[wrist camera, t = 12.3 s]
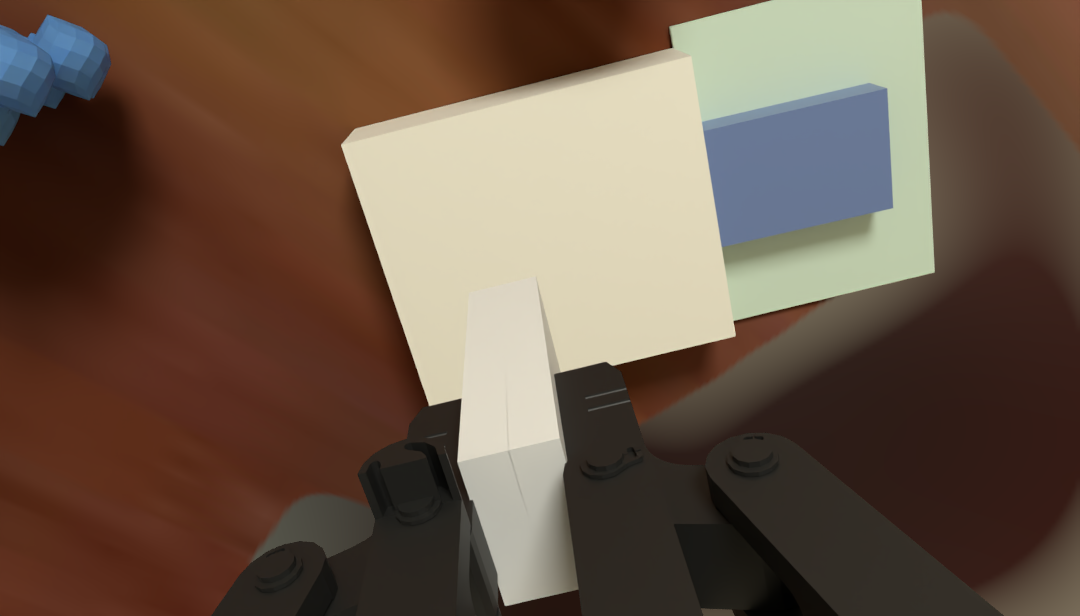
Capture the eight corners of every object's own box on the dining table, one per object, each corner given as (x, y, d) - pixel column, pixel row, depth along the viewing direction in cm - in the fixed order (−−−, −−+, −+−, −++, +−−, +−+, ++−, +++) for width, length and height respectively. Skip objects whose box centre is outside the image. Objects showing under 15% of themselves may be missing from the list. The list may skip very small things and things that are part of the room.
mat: (718, 322, 45) (719, 324, 45) (669, 26, 39) (670, 27, 39) (931, 270, 45) (934, 272, 44) (916, -37, 38) (919, -37, 38)
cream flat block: (435, 373, 45) (430, 409, 42) (355, 128, 40) (341, 145, 36) (715, 305, 45) (735, 336, 41) (672, 47, 39) (691, 56, 36)
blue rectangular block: (707, 236, 43) (717, 248, 41) (690, 124, 40) (700, 131, 39) (875, 197, 42) (893, 208, 41) (869, 82, 40) (887, 88, 38)
